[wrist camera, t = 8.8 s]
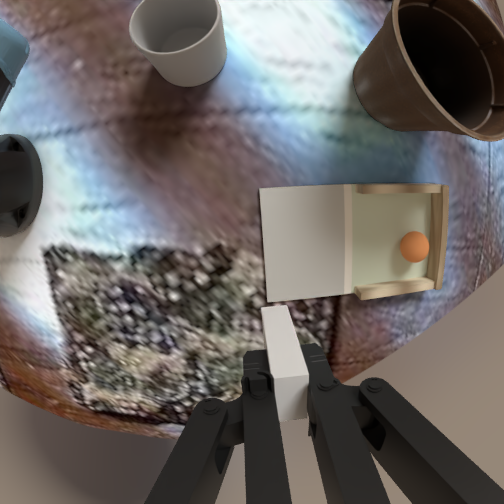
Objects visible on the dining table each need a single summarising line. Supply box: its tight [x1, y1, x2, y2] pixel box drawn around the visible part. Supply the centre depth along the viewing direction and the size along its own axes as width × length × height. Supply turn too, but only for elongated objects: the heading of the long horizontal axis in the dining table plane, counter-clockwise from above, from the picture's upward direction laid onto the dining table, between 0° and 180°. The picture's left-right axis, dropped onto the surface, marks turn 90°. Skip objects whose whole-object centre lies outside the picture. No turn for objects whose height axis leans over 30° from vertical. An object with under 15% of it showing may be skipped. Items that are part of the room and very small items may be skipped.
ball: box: [400, 231, 429, 263], centre depth 34 cm, size 4×4×4 cm
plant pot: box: [353, 0, 504, 142], centre depth 23 cm, size 16×16×16 cm
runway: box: [259, 183, 431, 302], centre depth 36 cm, size 24×14×1 cm, turn 95°
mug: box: [129, 0, 227, 87], centre depth 24 cm, size 12×8×11 cm
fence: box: [355, 183, 449, 300], centre depth 35 cm, size 12×14×4 cm
